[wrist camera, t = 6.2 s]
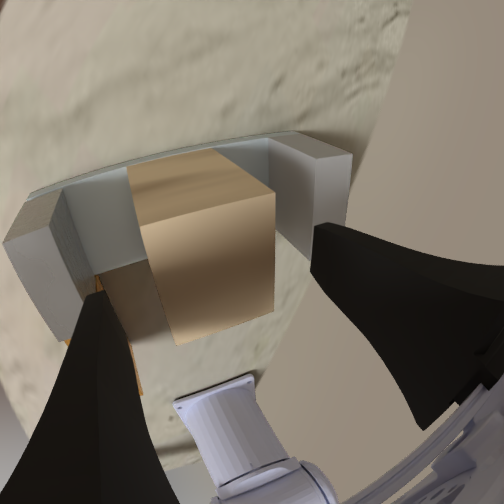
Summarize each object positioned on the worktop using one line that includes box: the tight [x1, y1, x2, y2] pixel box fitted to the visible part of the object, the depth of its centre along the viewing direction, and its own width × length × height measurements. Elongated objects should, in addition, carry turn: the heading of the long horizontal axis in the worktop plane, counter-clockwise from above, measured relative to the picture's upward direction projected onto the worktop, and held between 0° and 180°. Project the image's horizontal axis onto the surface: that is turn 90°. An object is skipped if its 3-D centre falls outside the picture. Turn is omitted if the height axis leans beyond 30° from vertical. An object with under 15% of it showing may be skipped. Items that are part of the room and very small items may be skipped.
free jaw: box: [2, 188, 143, 396], centre depth 13 cm, size 12×2×4 cm, turn 2°
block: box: [126, 148, 275, 346], centre depth 12 cm, size 5×4×6 cm
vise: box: [26, 131, 353, 275], centre depth 13 cm, size 5×14×5 cm, turn 92°
